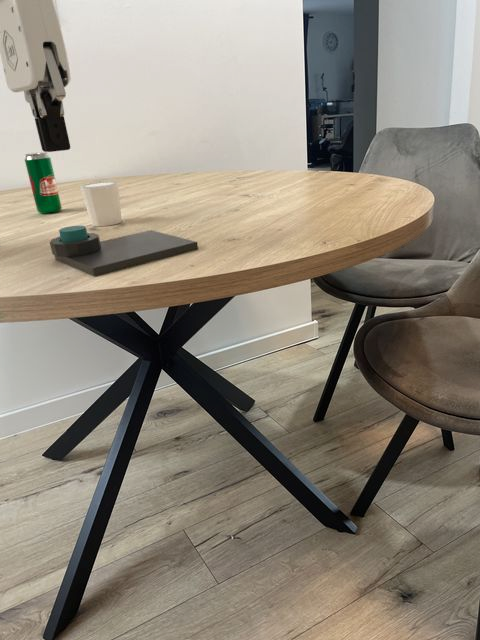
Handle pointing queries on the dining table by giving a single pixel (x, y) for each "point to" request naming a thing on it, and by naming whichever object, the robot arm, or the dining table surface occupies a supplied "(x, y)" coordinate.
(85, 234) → the button
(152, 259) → the scale
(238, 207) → the dining table surface
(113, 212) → the white cup
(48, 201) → the soda can
